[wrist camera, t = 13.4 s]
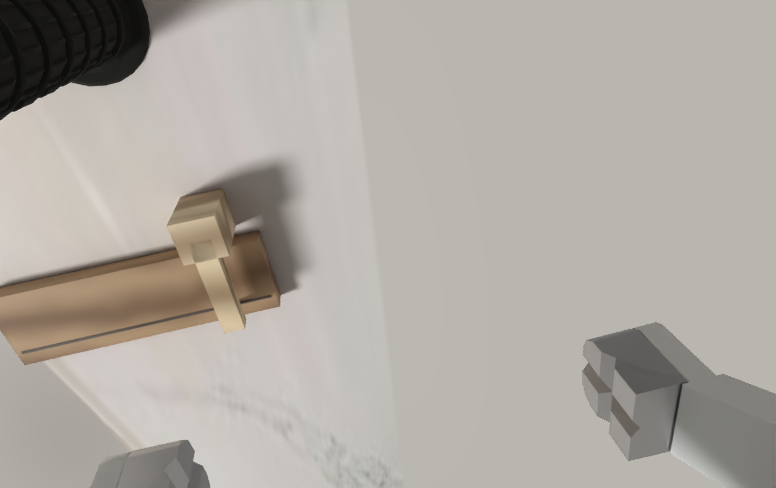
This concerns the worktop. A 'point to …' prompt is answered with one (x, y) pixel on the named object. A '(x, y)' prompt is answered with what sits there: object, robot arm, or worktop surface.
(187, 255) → the beige mallet
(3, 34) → the handle grip
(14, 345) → the board
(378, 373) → the worktop surface
